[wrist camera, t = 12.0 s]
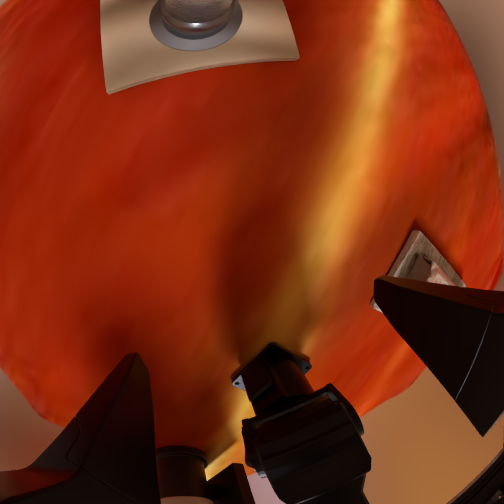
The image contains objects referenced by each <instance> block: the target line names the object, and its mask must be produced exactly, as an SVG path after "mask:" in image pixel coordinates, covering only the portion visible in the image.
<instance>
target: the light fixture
mask: <svg viewBox="0 0 504 504" xmlns="http://www.w3.org/2000/svg"><path fill="white" fill-rule="evenodd" d="M156 463H157V474H158V483H159V492H160V500H161V504H255V501H254V498H253V495H252V492H251V489H250V486H249V482H248V479H247V476H246V473H245V469H244V466H243V464H240V463H232V464H230V465H229V466H228V467H226V468H225V469H224V470H222V471H221V472H220V473H218V474H217V475H215V476H214V477H212V478H211V479H210V480H208V481H207V480H206V475H205V470H204V469H205V468H206V467H207V465H208V462H207V457H206V455H205V454H204V453H203V452H202V451H200V450H198V449H195V448H191V447H185V446H168V447H162V448H159V449H157V450H156Z"/></svg>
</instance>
